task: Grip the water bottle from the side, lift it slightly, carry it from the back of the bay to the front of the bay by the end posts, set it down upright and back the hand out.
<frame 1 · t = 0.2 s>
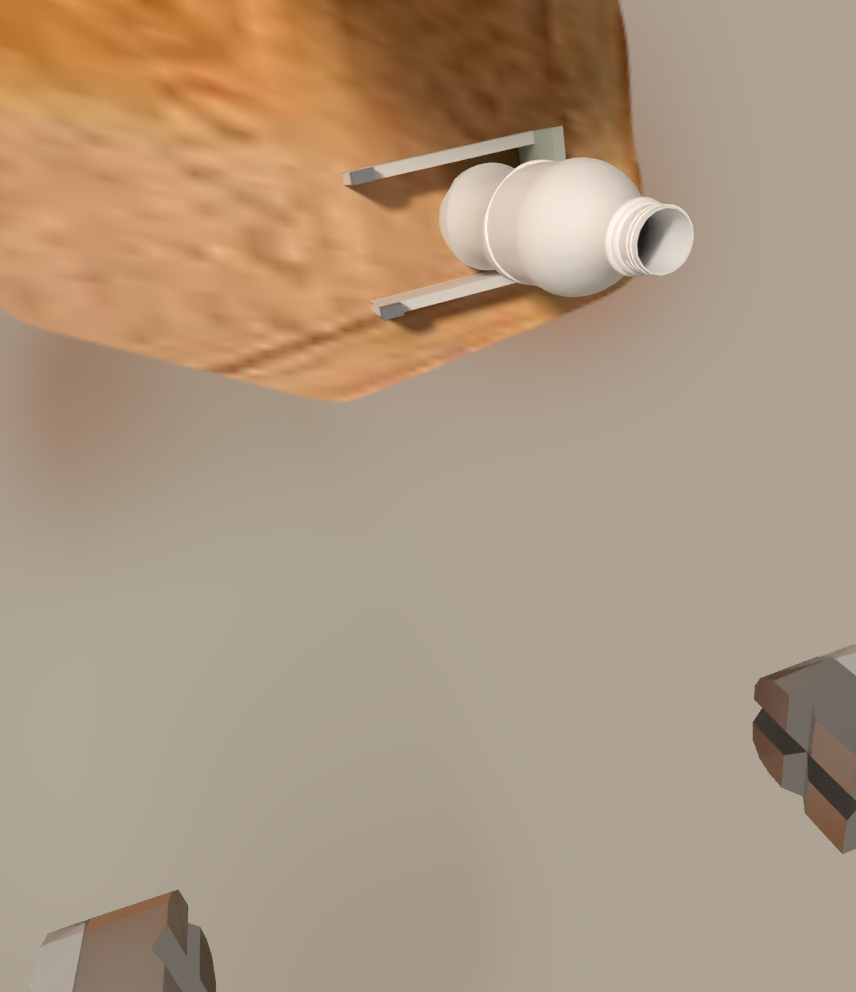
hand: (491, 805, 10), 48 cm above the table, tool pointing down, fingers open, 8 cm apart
water bottle: (475, 216, 54), resting in bay
bay: (447, 223, 53), on the table
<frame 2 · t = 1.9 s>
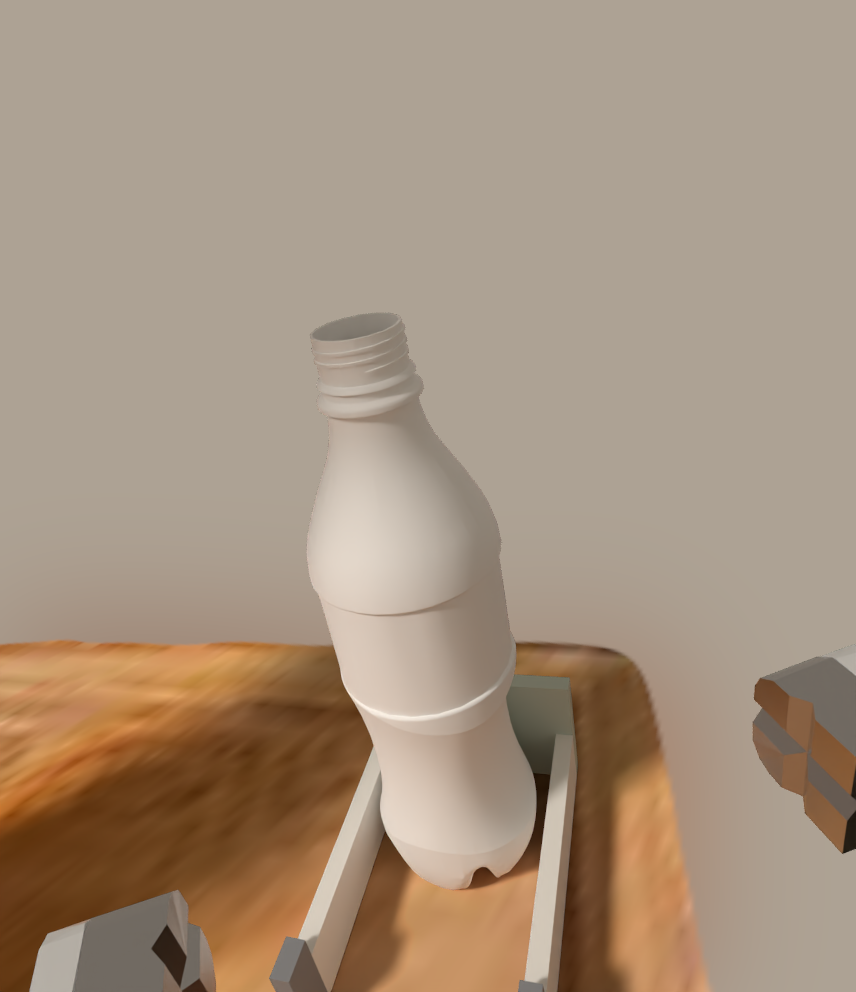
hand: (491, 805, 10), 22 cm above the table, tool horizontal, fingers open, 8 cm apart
water bottle: (467, 838, 34), resting in bay
bay: (456, 881, 32), on the table
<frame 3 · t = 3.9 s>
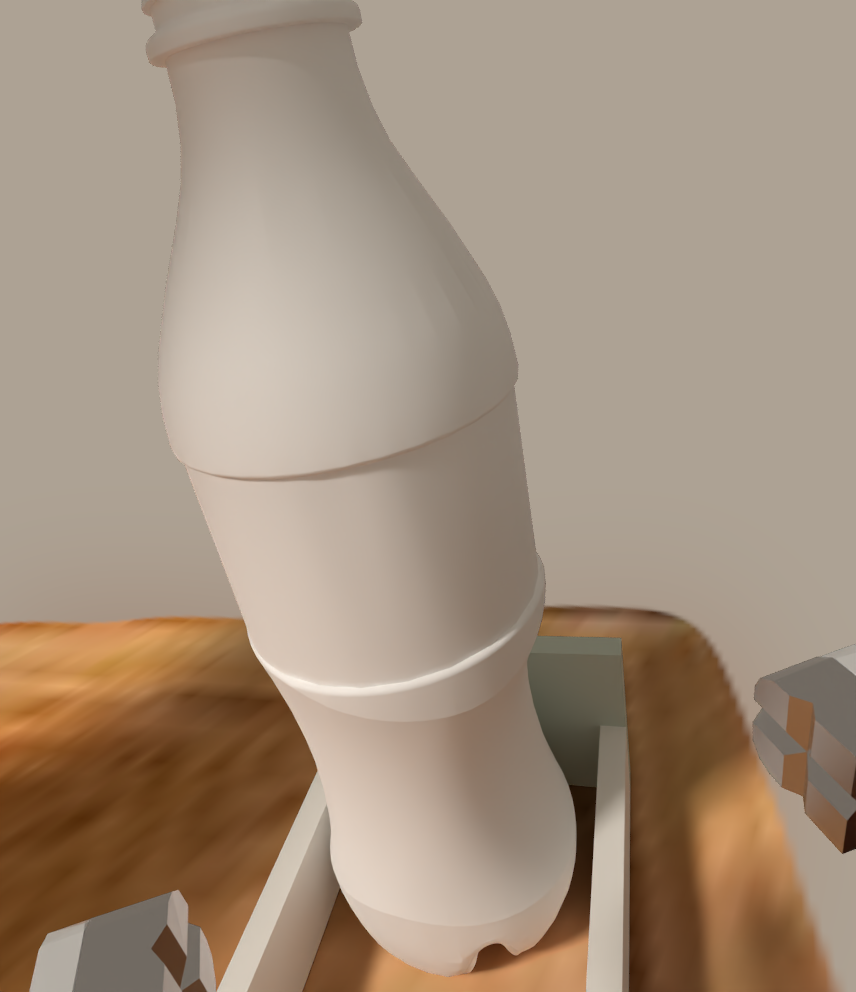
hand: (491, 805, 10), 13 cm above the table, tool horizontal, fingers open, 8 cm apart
water bottle: (468, 887, 22), resting in bay
bay: (451, 960, 20), on the table
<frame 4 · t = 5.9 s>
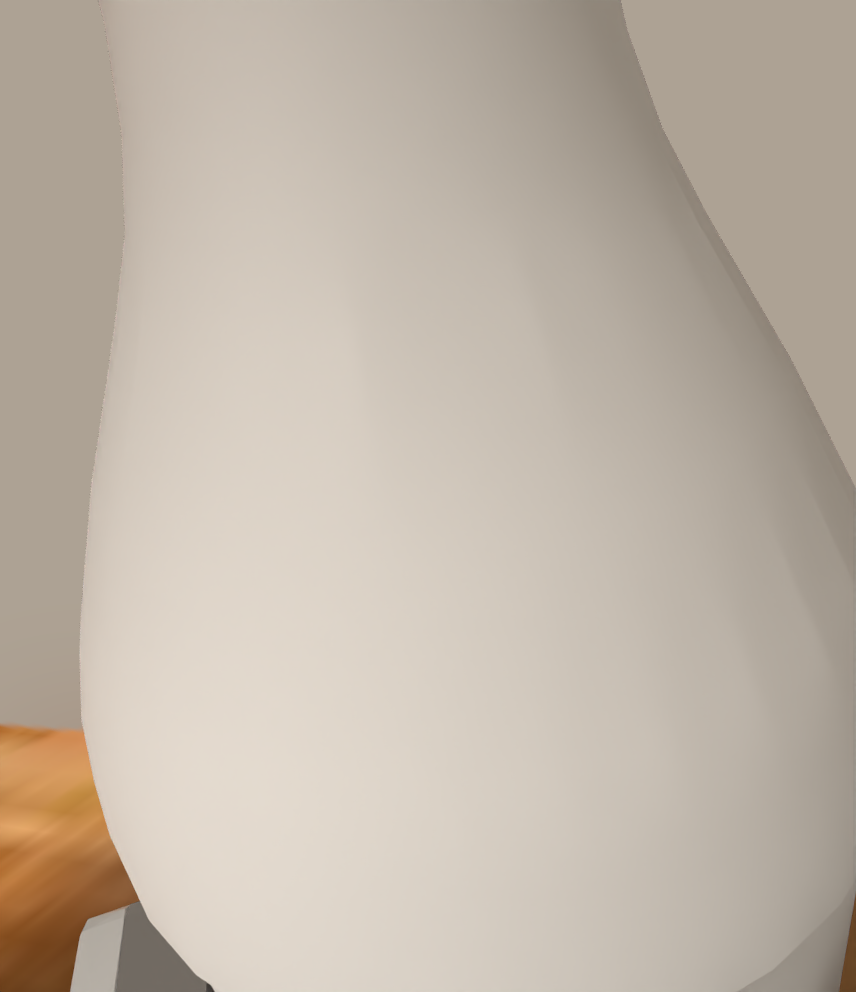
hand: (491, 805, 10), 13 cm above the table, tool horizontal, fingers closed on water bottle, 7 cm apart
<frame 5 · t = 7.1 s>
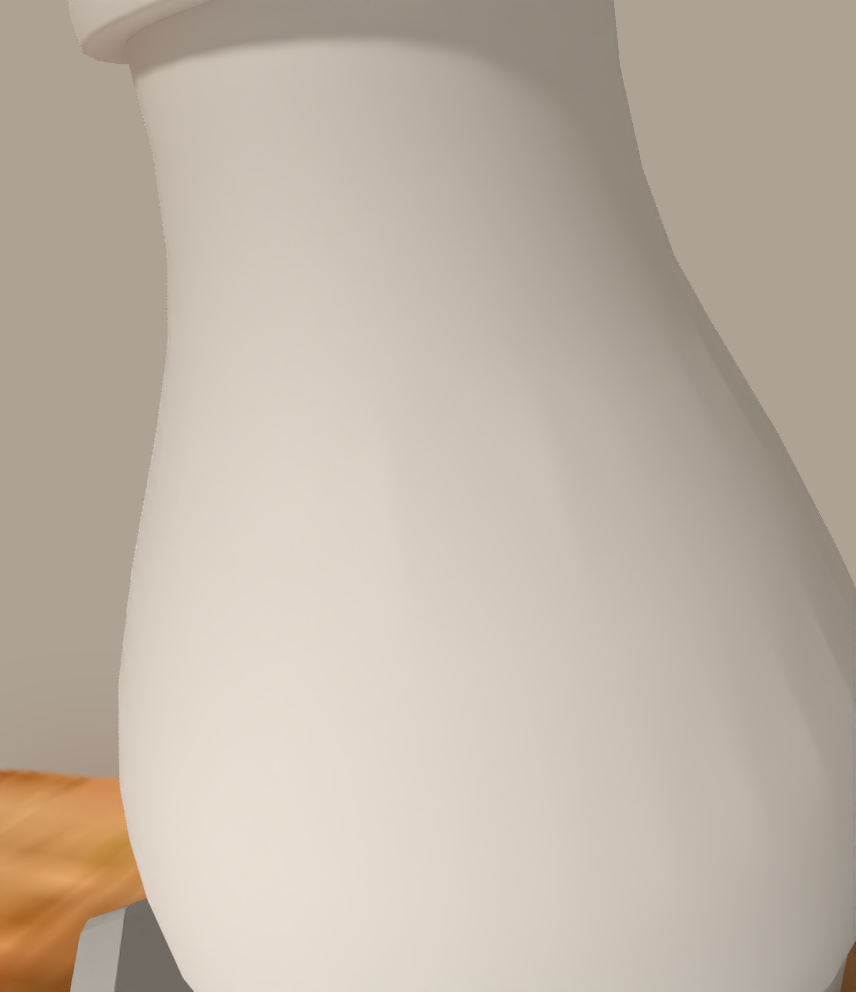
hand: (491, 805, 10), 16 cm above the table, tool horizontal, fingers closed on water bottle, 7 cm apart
when the fingers open (15 cm above the table, at t = 9.6 s): water bottle stays where it is, resting in bay.
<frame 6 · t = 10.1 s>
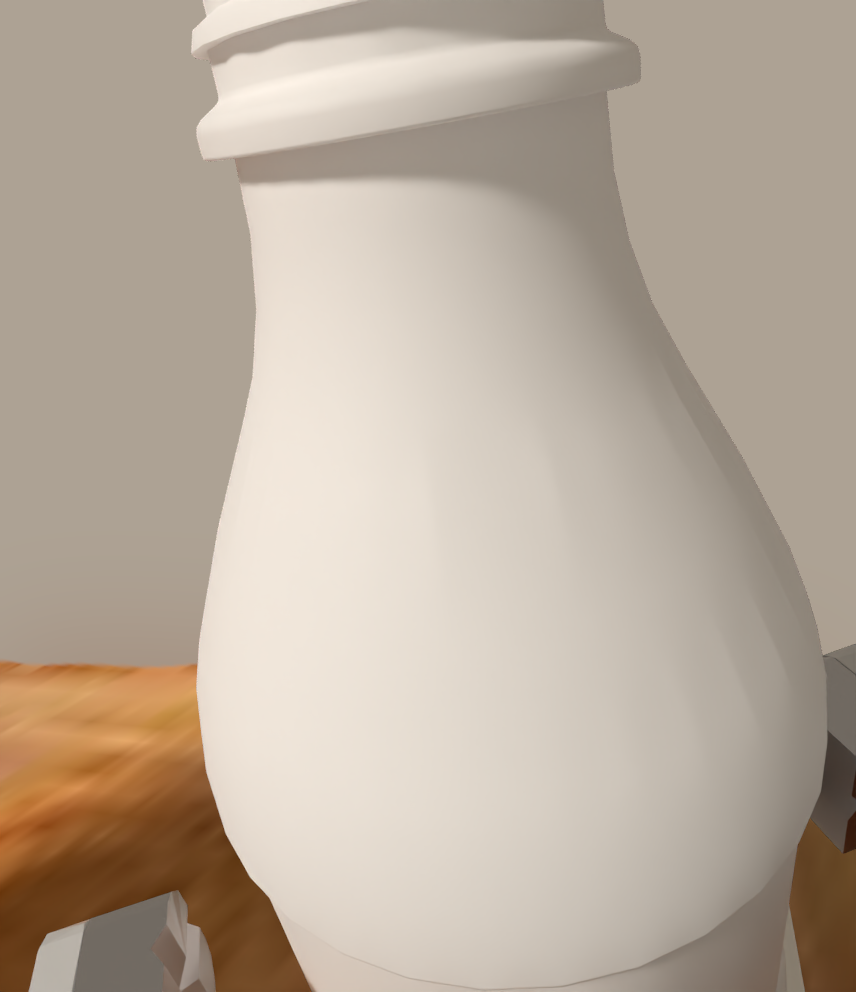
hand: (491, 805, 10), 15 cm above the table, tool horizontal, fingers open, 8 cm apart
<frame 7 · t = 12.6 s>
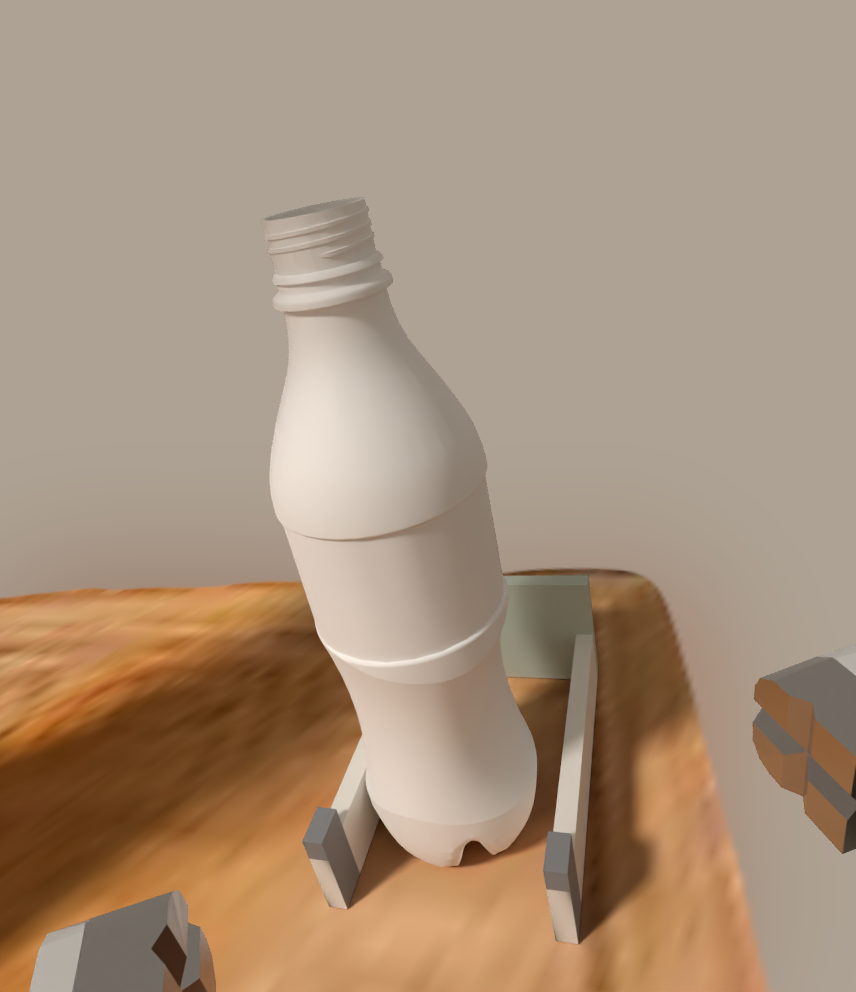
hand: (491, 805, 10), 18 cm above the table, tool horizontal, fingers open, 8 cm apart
water bottle: (463, 814, 31), resting in bay
bay: (481, 772, 33), on the table
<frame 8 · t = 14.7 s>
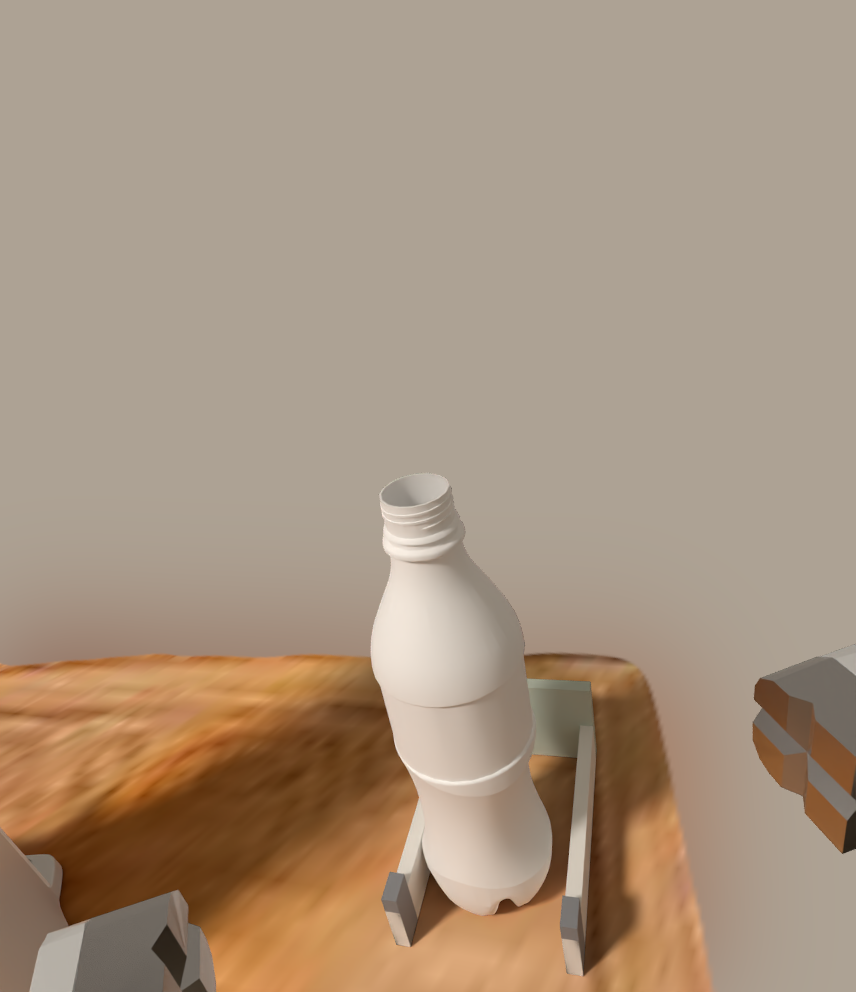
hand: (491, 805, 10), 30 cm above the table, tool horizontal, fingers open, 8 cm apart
water bottle: (494, 871, 41), resting in bay
bay: (506, 837, 42), on the table
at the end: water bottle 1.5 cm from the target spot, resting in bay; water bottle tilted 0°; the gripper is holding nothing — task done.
